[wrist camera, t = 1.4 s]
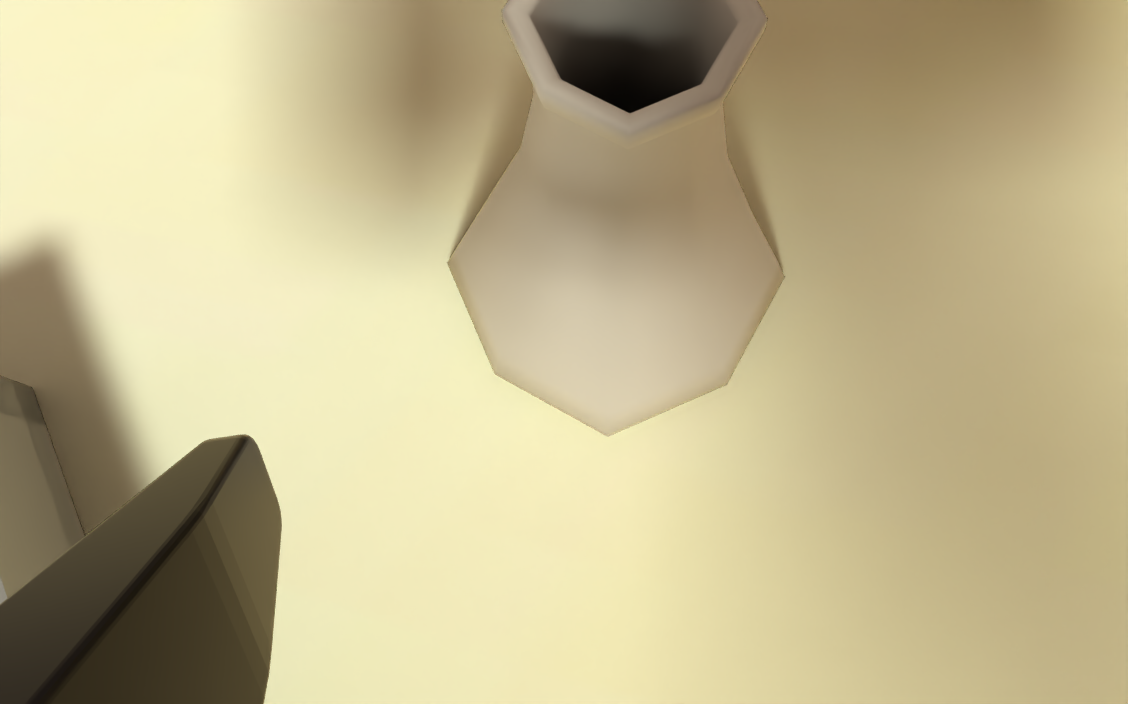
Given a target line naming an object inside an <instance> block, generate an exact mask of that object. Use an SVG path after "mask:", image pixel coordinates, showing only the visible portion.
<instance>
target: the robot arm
mask: <svg viewBox="0 0 1128 704" xmlns="http://www.w3.org/2000/svg"><path fill="white" fill-rule="evenodd" d="M281 530H282V521H281V511H280V507H279V503H278V500H277V497H276V494H275V491H274V489H273V486H272V483H271V480H270V478H269V475H268V472H267V469H266V467H265V464H264V461H263V458H262V455H261V453H260V450H259V448H258V445H257V444H256V442H255V441H254V439H253V438H251V437H250V436H248V435H235V436H228V437H221V438H215V439H209V440H206V441H204V442H202V443H201V444H199V445H198V446H197V447H196V448H194V449H193V450H192V451H191V452H189V453H188V454H187V455H186V456H184V457H183V458H182V459H181V460H179V461H178V462H177V463H176V464H174V465H173V466H172V467H171V468H169V469H168V470H167V471H166V472H164V473H163V474H162V475H161V476H159V477H158V478H157V479H156V480H154V481H153V482H152V483H151V484H149V485H148V486H147V487H146V488H144V489H143V490H142V491H141V492H139V493H138V494H137V495H136V496H134V497H133V498H132V499H131V500H129V501H128V502H127V503H126V504H124V505H123V506H122V507H121V508H119V509H118V510H117V511H116V512H114V513H113V514H112V515H111V516H110V517H108V518H107V519H106V520H105V521H103V522H102V523H101V524H100V525H98V526H97V527H96V528H95V529H93V530H92V531H91V532H90V533H88V534H87V535H86V536H85V537H83V538H82V539H81V540H80V541H78V542H77V543H76V544H75V545H73V546H72V547H71V548H70V549H68V550H67V551H66V552H65V553H63V554H62V555H61V556H60V557H58V558H57V559H56V560H55V561H53V562H52V563H51V564H50V565H48V566H47V567H46V568H45V569H43V570H42V571H41V572H40V573H38V574H37V575H36V576H35V577H33V578H32V579H31V580H30V581H28V582H27V583H26V584H25V585H23V586H22V587H21V588H20V589H18V590H17V591H16V592H15V593H13V594H12V595H11V596H10V597H8V598H7V599H6V600H5V601H3V602H2V603H1V604H0V704H264V699H265V693H266V688H267V682H268V677H269V670H270V660H271V651H272V640H273V628H274V615H275V603H276V591H277V579H278V567H279V555H280V542H281Z"/></svg>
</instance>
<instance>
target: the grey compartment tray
mask: <svg viewBox="0 0 1128 704" xmlns="http://www.w3.org/2000/svg"><path fill="white" fill-rule="evenodd" d="M83 537H85V535H84V532H83V530H82V527H81V524H80V521H79V518H78V515H77V513H76V510H75V507H74V504H73V501H72V498H71V496H70V493H69V490H68V487H67V484H66V481H65V479H64V476H63V473H62V470H61V467H60V464H59V462H58V459H57V456H56V453H55V450H54V447H53V445H52V442H51V439H50V436H49V433H48V430H47V428H46V425H45V422H44V419H43V416H42V413H41V411H40V408H39V405H38V402H37V399H36V396H35V394H34V391H33V388H32V387H29V386H27V385H24V384H21V383H19V382H16V381H13V380H10V379H8V378H5V377H2V376H0V604H1V603H2V602H3V601H5V600H6V599H7V598H8V597H10V596H11V595H12V594H13V593H15V592H16V591H17V590H18V589H20V588H21V587H22V586H23V585H25V584H26V583H27V582H28V581H30V580H31V579H32V578H33V577H35V576H36V575H37V574H38V573H40V572H41V571H42V570H43V569H45V568H46V567H47V566H48V565H50V564H51V563H52V562H53V561H55V560H56V559H57V558H58V557H60V556H61V555H62V554H63V553H65V552H66V551H67V550H68V549H70V548H71V547H72V546H73V545H75V544H76V543H77V542H78V541H80V540H81V539H82V538H83Z"/></svg>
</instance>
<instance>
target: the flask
mask: <svg viewBox="0 0 1128 704" xmlns="http://www.w3.org/2000/svg"><path fill="white" fill-rule="evenodd" d="M767 19H768V18H767V17H766V15H765V13H764V11H763V9H762V8H761V6H760V4H759V2H758V1H757V0H508V2H507V3H506V5H505V6H504V8H503V9H502V22H503V24H504V26H505V28H506V30H507V32H508V34H509V36H510V38H511V40H512V43H513V45H514V47H515V49H516V51H517V53H518V55H519V57H520V59H521V61H522V63H523V65H524V68H525V70H526V72H527V74H528V76H529V78H530V80H531V82H532V84H533V97H532V102H531V106H530V110H529V114H528V118H527V122H526V126H525V130H524V135H523V139H522V143H521V147H520V148H519V150H518V151H517V152H516V154H515V155H514V157H513V158H512V160H511V162H510V163H509V165H508V166H507V168H506V170H505V171H504V173H503V174H502V176H501V178H500V179H499V181H498V182H497V184H496V185H495V187H494V189H493V190H492V192H491V193H490V195H489V197H488V198H487V200H486V201H485V203H484V205H483V206H482V208H481V209H480V211H479V213H478V214H477V216H476V217H475V219H474V220H473V222H472V224H471V225H470V227H469V228H468V230H467V232H466V233H465V235H464V236H463V238H462V240H461V241H460V243H459V244H458V246H457V248H456V249H455V251H454V252H453V254H452V256H451V257H450V259H449V261H448V262H447V264H448V266H449V268H450V271H451V273H452V275H453V278H454V280H455V282H456V285H457V287H458V289H459V292H460V294H461V296H462V299H463V301H464V303H465V306H466V308H467V310H468V313H469V315H470V317H471V320H472V322H473V324H474V327H475V329H476V331H477V334H478V336H479V338H480V341H481V343H482V345H483V348H484V350H485V352H486V355H487V357H488V359H489V362H490V364H491V366H492V369H493V371H494V373H495V374H496V375H497V376H499V377H501V378H503V379H505V380H506V381H508V382H510V383H512V384H514V385H515V386H517V387H519V388H521V389H523V390H524V391H526V392H528V393H530V394H532V395H533V396H535V397H537V398H539V399H541V400H542V401H544V402H546V403H548V404H550V405H552V406H553V407H555V408H557V409H559V410H561V411H562V412H564V413H566V414H568V415H570V416H571V417H573V418H575V419H577V420H579V421H580V422H582V423H584V424H586V425H588V426H589V427H591V428H593V429H595V430H597V431H598V432H600V433H602V434H604V435H606V436H610V435H613V434H615V433H617V432H620V431H622V430H624V429H626V428H629V427H631V426H633V425H636V424H638V423H640V422H642V421H645V420H647V419H649V418H652V417H654V416H656V415H658V414H661V413H663V412H665V411H668V410H670V409H672V408H674V407H677V406H679V405H681V404H684V403H686V402H688V401H690V400H693V399H695V398H697V397H699V396H702V395H704V394H706V393H709V392H711V391H713V390H715V389H718V388H720V387H722V386H725V385H727V383H728V381H729V379H730V378H731V376H732V374H733V372H734V370H735V368H736V366H737V364H738V363H739V361H740V359H741V357H742V355H743V353H744V351H745V350H746V348H747V346H748V344H749V342H750V340H751V338H752V337H753V335H754V333H755V331H756V329H757V327H758V325H759V324H760V322H761V320H762V318H763V316H764V314H765V312H766V310H767V309H768V307H769V305H770V303H771V301H772V299H773V297H774V296H775V294H776V292H777V290H778V288H779V286H780V284H781V283H782V281H783V279H784V277H785V276H784V274H783V272H782V269H781V267H780V265H779V263H778V260H777V259H776V257H775V255H774V253H773V251H772V249H771V247H770V245H769V243H768V242H767V240H766V238H765V236H764V234H763V232H762V230H761V228H760V226H759V224H758V223H757V221H756V219H755V217H754V215H753V213H752V210H751V208H750V206H749V204H748V201H747V199H746V197H745V194H744V192H743V190H742V187H741V185H740V183H739V180H738V178H737V176H736V174H735V171H734V169H733V167H732V164H731V162H730V160H729V157H728V152H727V141H726V130H725V119H724V108H723V101H724V100H725V98H726V96H727V94H728V93H729V91H730V89H731V87H732V86H733V84H734V82H735V81H736V79H737V77H738V75H739V74H740V72H741V70H742V69H743V67H744V65H745V63H746V62H747V60H748V58H749V56H750V55H751V53H752V51H753V50H754V48H755V46H756V44H757V43H758V41H759V39H760V37H761V36H762V34H763V32H764V31H765V29H766V24H767Z"/></svg>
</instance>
